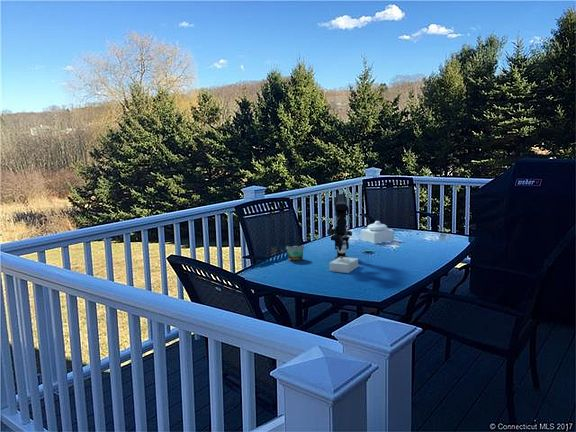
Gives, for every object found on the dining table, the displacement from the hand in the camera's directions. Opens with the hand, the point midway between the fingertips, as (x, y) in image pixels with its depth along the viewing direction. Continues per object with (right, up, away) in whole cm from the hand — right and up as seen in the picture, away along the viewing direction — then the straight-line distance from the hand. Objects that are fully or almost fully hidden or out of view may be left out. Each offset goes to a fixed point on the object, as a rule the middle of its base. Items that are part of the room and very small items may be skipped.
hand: (341, 249), depth 283 cm
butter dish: (+36, +1, +76) cm, 84 cm away
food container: (-27, -9, +24) cm, 37 cm away
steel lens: (0, -2, 0) cm, 2 cm away
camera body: (+1, -12, +1) cm, 12 cm away
